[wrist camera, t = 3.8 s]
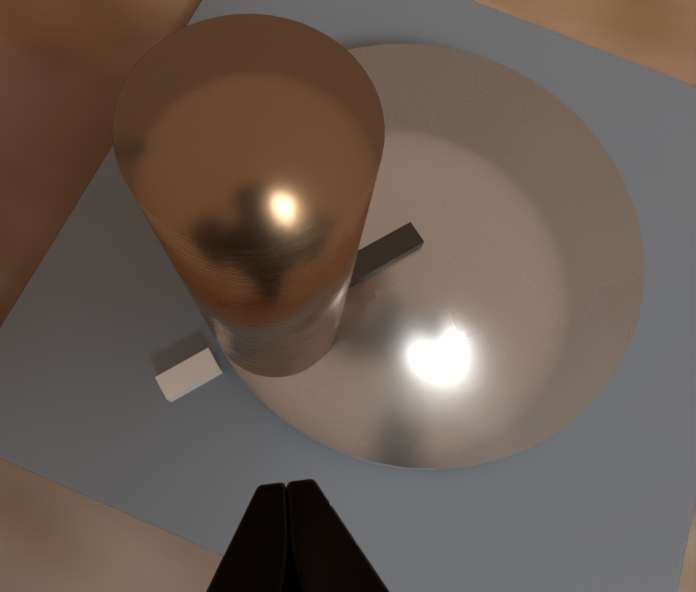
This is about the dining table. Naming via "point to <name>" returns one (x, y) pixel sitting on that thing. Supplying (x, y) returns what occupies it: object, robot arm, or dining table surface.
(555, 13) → the dining table surface
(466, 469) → the dial board
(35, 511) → the dining table surface
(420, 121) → the dial
